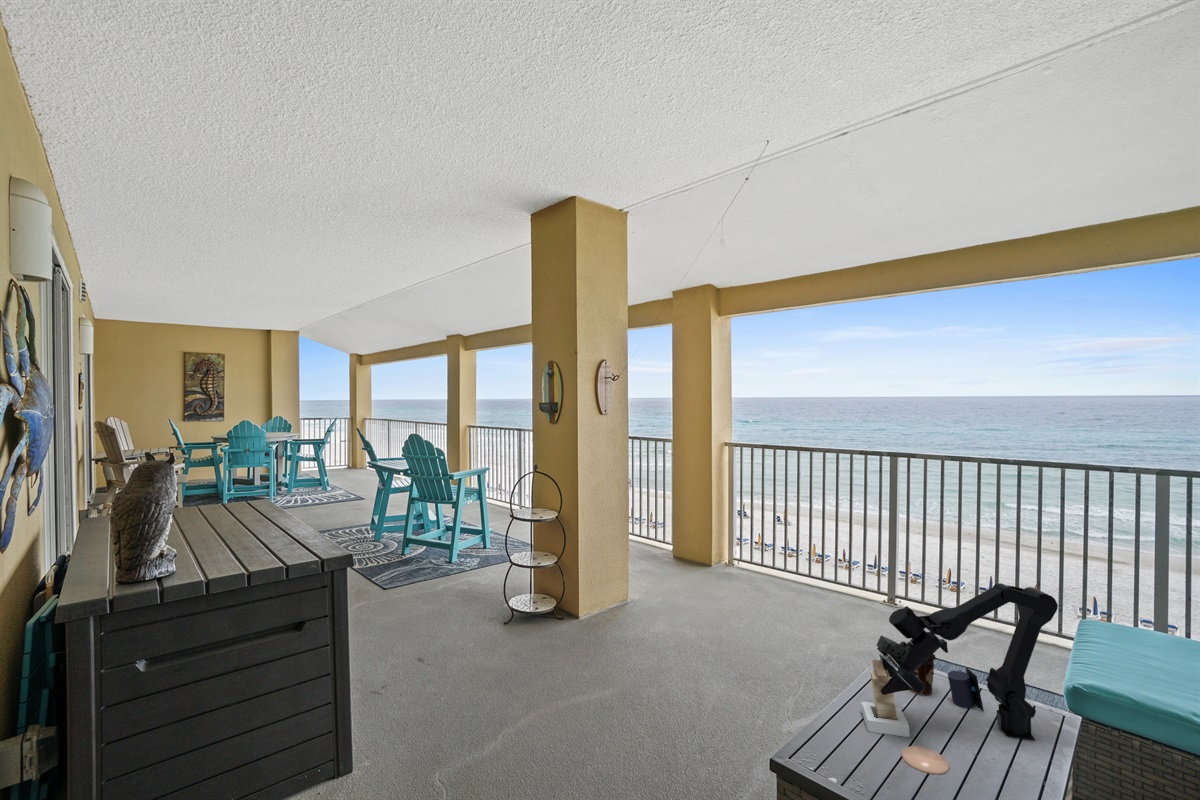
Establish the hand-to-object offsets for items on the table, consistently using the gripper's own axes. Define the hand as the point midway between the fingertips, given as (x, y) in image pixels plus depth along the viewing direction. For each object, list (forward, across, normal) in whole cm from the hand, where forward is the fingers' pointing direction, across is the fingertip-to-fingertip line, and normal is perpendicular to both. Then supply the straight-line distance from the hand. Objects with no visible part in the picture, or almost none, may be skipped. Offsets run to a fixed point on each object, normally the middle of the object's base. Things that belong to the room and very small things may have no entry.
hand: (877, 687), depth 149 cm
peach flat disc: (+3, +16, +11) cm, 19 cm away
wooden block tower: (+5, 0, +8) cm, 9 cm away
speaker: (-13, -13, +27) cm, 33 cm away
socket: (+6, 0, +8) cm, 10 cm away
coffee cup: (-6, -21, +21) cm, 30 cm away
